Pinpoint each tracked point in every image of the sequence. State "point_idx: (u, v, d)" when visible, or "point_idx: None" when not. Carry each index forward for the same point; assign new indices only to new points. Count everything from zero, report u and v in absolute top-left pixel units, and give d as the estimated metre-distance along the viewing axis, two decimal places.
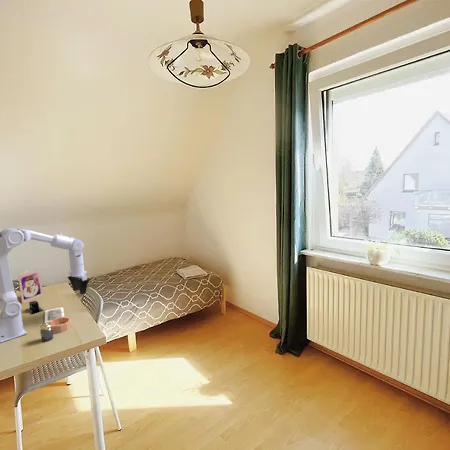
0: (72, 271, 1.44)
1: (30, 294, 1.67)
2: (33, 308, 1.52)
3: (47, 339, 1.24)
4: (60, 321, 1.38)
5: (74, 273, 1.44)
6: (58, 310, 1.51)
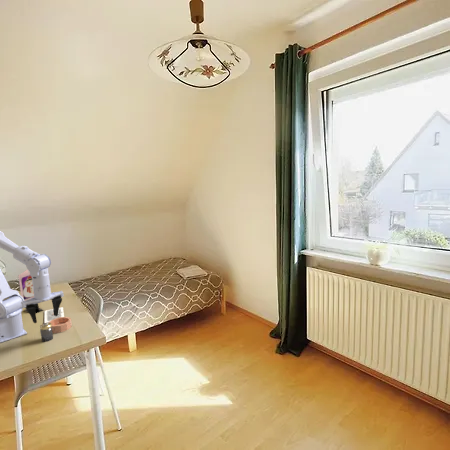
0: None
1: (30, 294, 1.67)
2: None
3: (47, 339, 1.24)
4: (60, 321, 1.38)
5: None
6: None
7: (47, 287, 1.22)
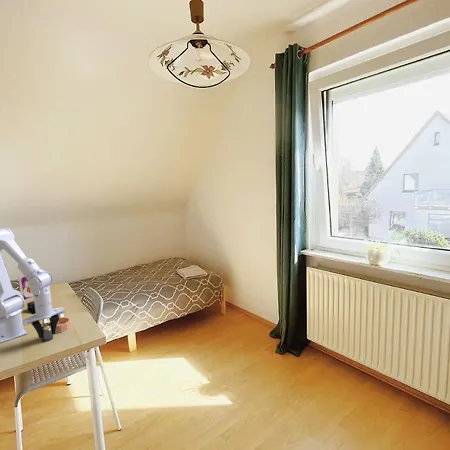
0: None
1: (30, 294, 1.67)
2: (33, 308, 1.52)
3: (47, 339, 1.24)
4: (60, 321, 1.38)
5: None
6: None
7: (48, 305, 1.23)
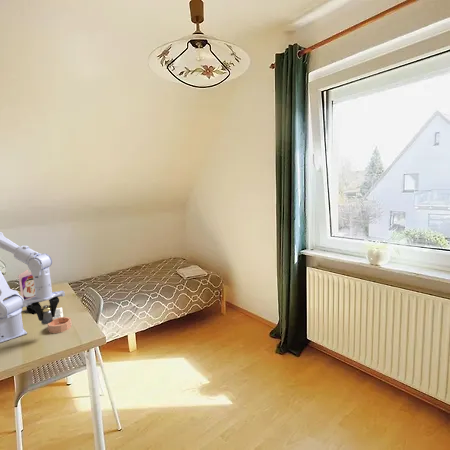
0: None
1: (30, 294, 1.67)
2: None
3: (47, 321, 1.24)
4: (60, 321, 1.38)
5: None
6: (57, 310, 1.51)
7: (48, 286, 1.23)
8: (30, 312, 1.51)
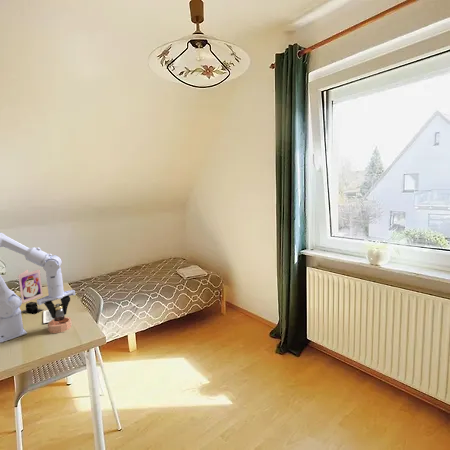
0: None
1: (30, 294, 1.67)
2: (33, 308, 1.51)
3: (59, 319, 1.32)
4: (60, 321, 1.38)
5: None
6: None
7: (60, 286, 1.31)
8: (30, 312, 1.51)
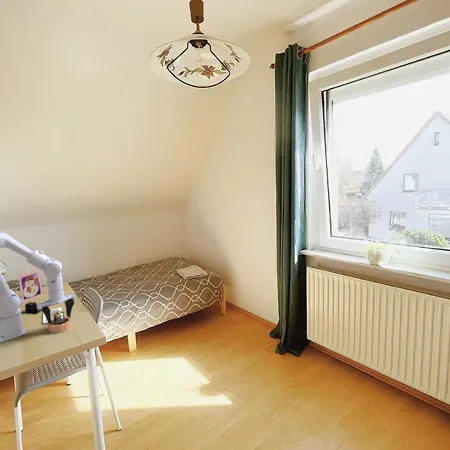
0: None
1: (30, 294, 1.67)
2: (33, 309, 1.51)
3: None
4: None
5: None
6: (56, 310, 1.51)
7: (61, 290, 1.31)
8: (30, 312, 1.51)
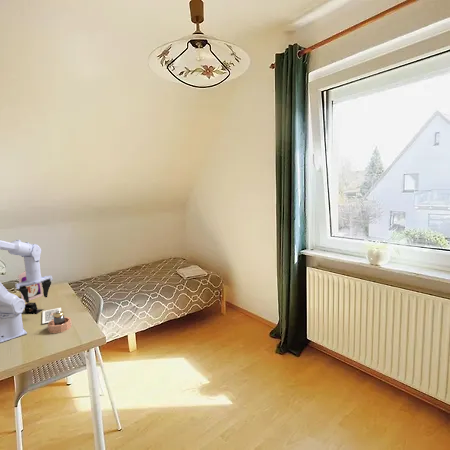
0: None
1: (30, 294, 1.67)
2: (33, 309, 1.51)
3: None
4: None
5: None
6: (55, 310, 1.51)
7: (38, 271, 1.40)
8: (30, 313, 1.50)
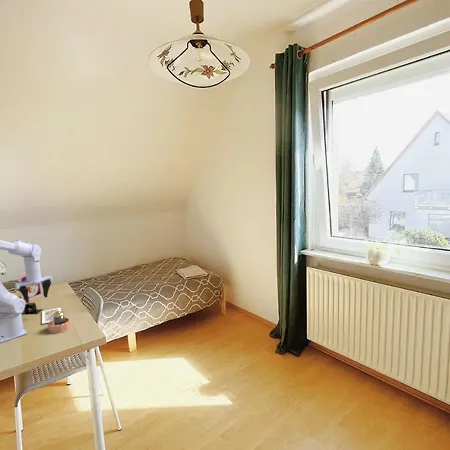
0: None
1: (30, 294, 1.67)
2: (33, 309, 1.51)
3: None
4: None
5: None
6: (55, 311, 1.51)
7: (38, 271, 1.40)
8: (31, 313, 1.50)
